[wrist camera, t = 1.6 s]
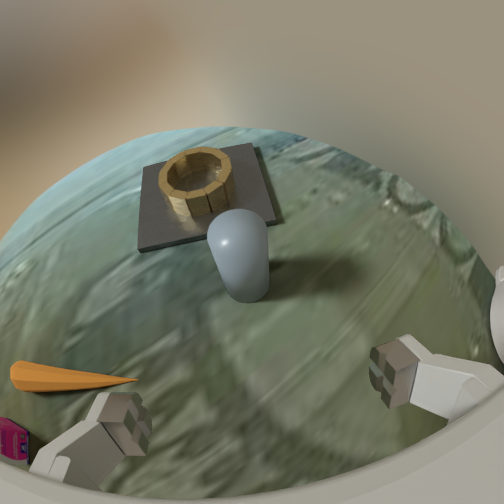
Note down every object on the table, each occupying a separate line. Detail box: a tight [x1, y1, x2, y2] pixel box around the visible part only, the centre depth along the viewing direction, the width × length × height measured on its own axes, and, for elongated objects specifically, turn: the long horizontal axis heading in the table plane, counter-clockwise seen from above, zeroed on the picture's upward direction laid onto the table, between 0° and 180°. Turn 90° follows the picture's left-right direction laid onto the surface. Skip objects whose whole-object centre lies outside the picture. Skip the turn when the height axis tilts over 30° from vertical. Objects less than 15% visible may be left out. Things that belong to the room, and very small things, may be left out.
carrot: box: [11, 360, 138, 392], centre depth 26 cm, size 20×4×4 cm, turn 100°
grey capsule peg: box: [207, 209, 270, 303], centre depth 28 cm, size 5×5×10 cm
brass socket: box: [158, 147, 235, 217], centre depth 37 cm, size 10×10×4 cm
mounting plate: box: [138, 143, 276, 253], centre depth 39 cm, size 18×16×1 cm
